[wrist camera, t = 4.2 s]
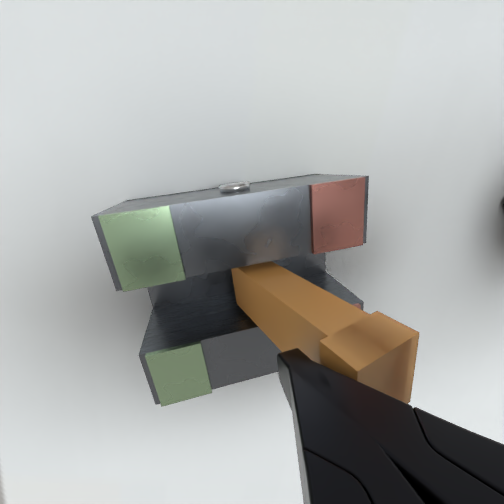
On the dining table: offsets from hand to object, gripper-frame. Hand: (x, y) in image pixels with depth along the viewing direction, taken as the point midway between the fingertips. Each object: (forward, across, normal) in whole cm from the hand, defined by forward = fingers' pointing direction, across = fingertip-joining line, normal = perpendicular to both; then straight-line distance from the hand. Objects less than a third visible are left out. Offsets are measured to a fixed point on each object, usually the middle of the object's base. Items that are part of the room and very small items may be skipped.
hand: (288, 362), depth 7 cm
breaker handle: (+6, 0, 0) cm, 6 cm away
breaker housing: (+9, 0, 0) cm, 9 cm away
